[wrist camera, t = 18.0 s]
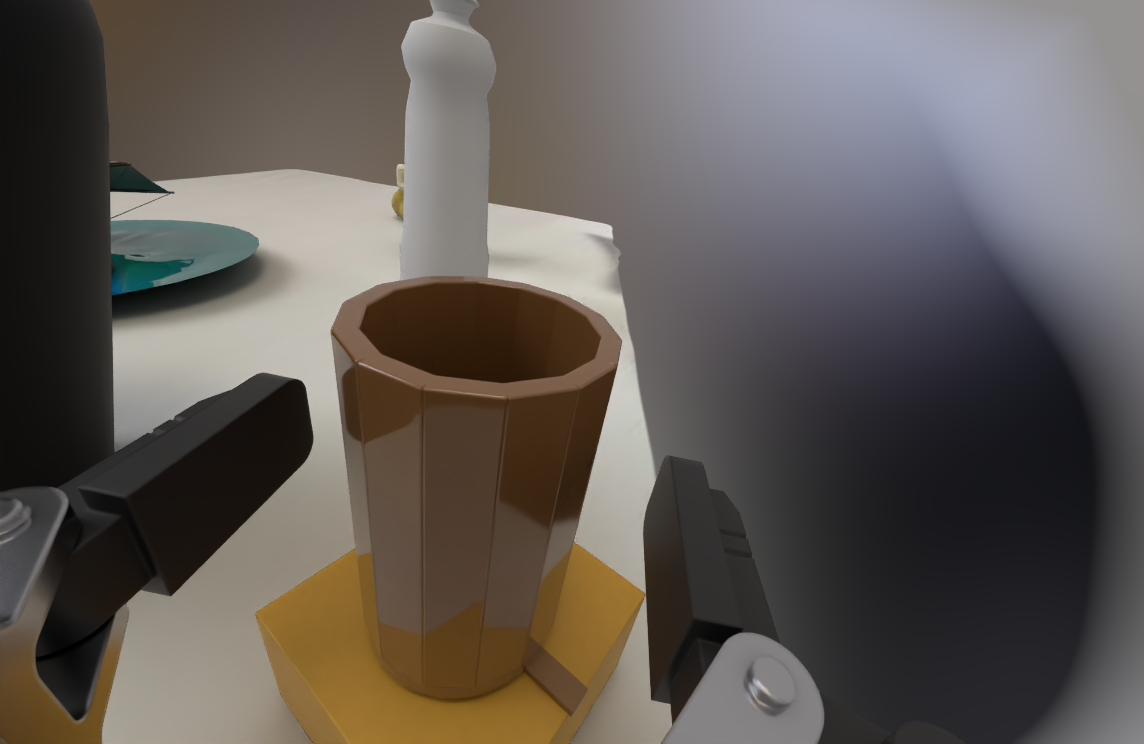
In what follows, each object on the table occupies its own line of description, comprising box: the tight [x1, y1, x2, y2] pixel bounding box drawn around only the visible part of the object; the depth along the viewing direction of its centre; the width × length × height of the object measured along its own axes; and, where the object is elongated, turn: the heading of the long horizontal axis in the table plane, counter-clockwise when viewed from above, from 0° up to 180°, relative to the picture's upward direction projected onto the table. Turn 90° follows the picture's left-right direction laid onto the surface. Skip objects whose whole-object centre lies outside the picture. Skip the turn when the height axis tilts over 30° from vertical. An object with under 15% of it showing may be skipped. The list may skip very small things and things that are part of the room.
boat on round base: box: [109, 160, 259, 295], centre depth 39 cm, size 28×28×11 cm
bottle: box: [400, 0, 497, 281], centre depth 41 cm, size 9×9×30 cm
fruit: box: [392, 189, 404, 219], centre depth 78 cm, size 6×6×10 cm
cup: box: [331, 276, 622, 699], centre depth 12 cm, size 6×6×10 cm
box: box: [255, 542, 645, 744], centre depth 16 cm, size 9×9×5 cm
